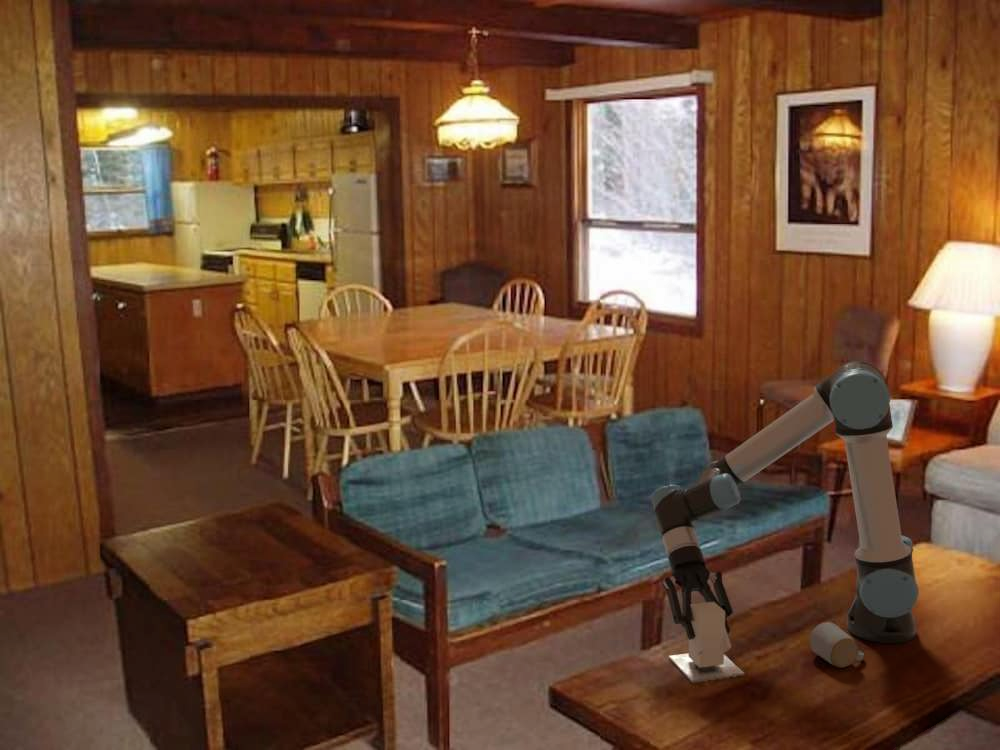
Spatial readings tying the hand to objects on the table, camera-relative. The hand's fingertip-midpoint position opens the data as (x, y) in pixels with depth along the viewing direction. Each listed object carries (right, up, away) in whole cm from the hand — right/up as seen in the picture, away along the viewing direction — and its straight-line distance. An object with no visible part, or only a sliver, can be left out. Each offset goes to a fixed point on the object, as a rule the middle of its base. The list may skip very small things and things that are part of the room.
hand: (714, 650), depth 224 cm
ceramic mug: (+29, -4, +7) cm, 30 cm away
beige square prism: (-1, -3, +4) cm, 5 cm away
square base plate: (-1, -5, +4) cm, 7 cm away
